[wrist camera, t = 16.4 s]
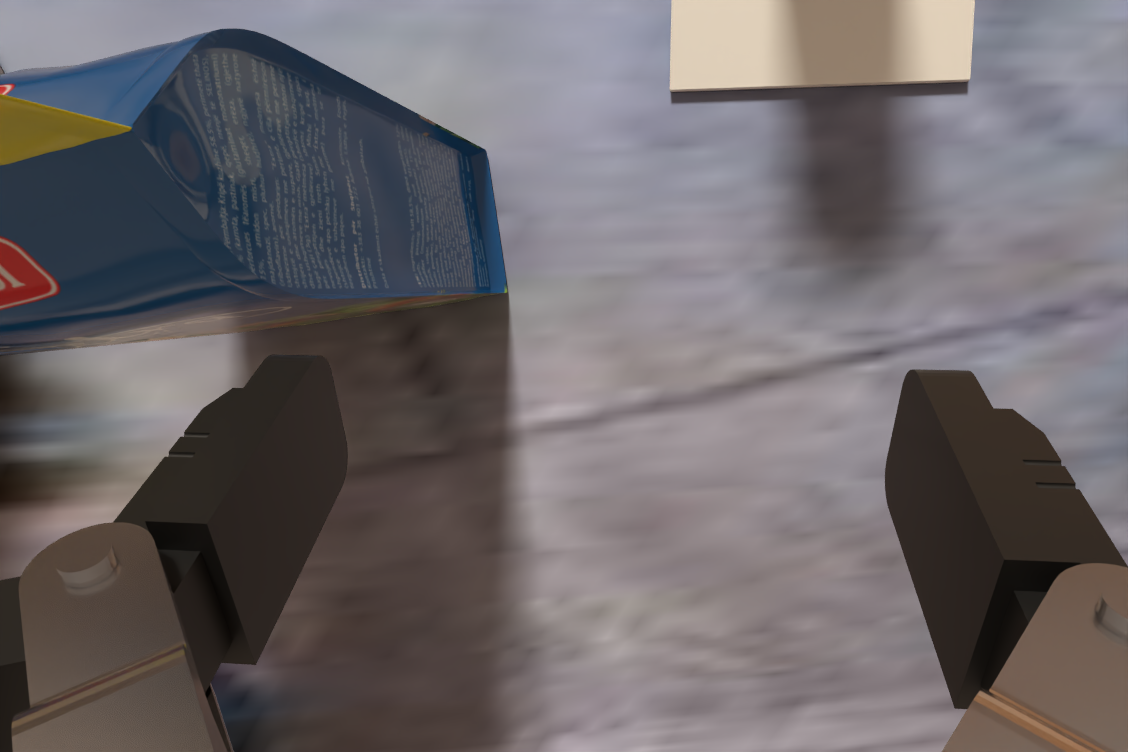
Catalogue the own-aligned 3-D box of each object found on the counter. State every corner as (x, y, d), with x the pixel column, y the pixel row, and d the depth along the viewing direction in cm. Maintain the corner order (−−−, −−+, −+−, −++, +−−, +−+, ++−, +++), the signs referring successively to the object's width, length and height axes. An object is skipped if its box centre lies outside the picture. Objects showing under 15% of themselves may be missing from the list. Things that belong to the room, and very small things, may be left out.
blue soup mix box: (510, 296, 36) (44, 320, 12) (256, 334, 39) (-556, 419, 14) (488, 146, 36) (-46, -147, 11) (232, 195, 38) (-650, 40, 14)
